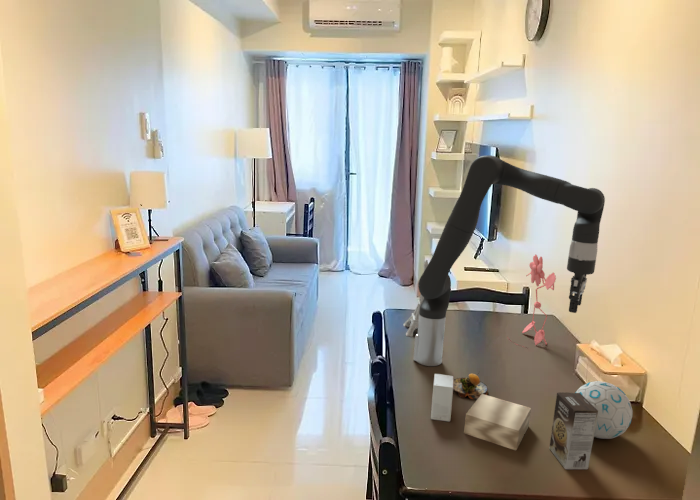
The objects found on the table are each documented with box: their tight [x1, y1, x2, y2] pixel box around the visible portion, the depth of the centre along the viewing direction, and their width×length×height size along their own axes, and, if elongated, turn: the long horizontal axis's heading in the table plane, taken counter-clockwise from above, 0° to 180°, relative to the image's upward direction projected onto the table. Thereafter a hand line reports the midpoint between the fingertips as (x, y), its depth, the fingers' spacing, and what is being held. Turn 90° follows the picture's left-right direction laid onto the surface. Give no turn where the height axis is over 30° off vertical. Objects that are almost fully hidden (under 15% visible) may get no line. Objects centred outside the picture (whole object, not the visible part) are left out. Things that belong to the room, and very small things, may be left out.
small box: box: [430, 373, 454, 422], centre depth 152 cm, size 8×6×10 cm
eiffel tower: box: [403, 259, 429, 337], centre depth 214 cm, size 13×13×30 cm
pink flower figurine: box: [507, 254, 557, 349], centre depth 210 cm, size 15×26×35 cm, turn 2°
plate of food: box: [453, 371, 489, 400], centre depth 168 cm, size 12×12×8 cm
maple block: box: [463, 394, 532, 451], centre depth 146 cm, size 14×14×6 cm
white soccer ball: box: [574, 380, 634, 440], centre depth 145 cm, size 15×15×15 cm
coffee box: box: [549, 391, 598, 470], centre depth 133 cm, size 9×6×16 cm
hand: (574, 308), depth 160 cm, fingers open, 8 cm apart
